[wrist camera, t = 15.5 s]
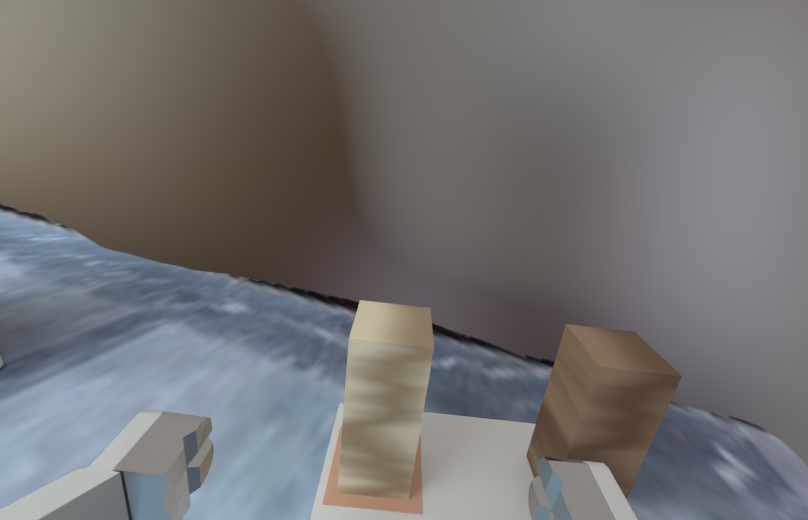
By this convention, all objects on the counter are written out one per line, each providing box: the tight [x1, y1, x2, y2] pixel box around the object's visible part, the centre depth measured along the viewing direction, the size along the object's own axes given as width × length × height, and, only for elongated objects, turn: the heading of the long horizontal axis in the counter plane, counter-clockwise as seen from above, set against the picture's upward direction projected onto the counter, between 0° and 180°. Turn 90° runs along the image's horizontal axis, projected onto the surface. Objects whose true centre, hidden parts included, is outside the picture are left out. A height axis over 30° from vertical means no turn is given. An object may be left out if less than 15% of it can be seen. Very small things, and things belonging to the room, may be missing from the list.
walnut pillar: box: [526, 324, 682, 499], centre depth 23 cm, size 4×4×11 cm
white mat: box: [310, 403, 536, 520], centre depth 25 cm, size 20×11×1 cm, turn 88°
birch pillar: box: [337, 300, 434, 500], centre depth 23 cm, size 4×4×11 cm
